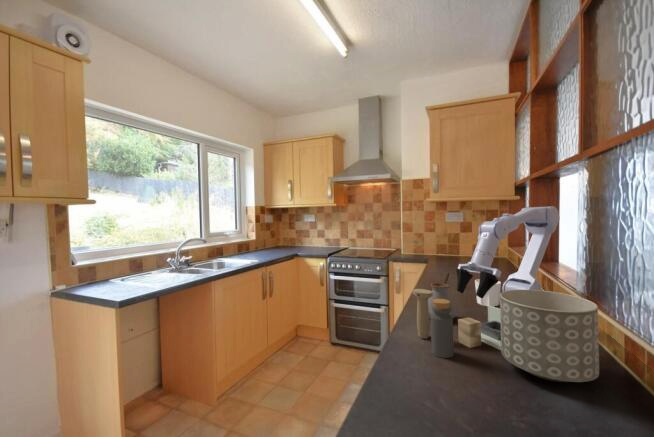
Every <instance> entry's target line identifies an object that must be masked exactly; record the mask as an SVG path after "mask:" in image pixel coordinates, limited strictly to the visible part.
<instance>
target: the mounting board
mask: <svg viewBox="0 0 654 437" xmlns="http://www.w3.org/2000/svg"><path fill="white" fill-rule="evenodd" d="M494 320H495V321H498V322H500V323H501V318H500V307H495V306H487V322H489V321H494ZM494 330H496V329H494ZM497 331H499V330H497ZM482 342H483V343H484V344H486V345H488V346H491V347H493V348H495V349H497V350H499V351H501V340H499V341H498V340H496V339H494V338H491V337H489V336H487V335H485V334H482V333H481V343H482Z"/></svg>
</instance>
